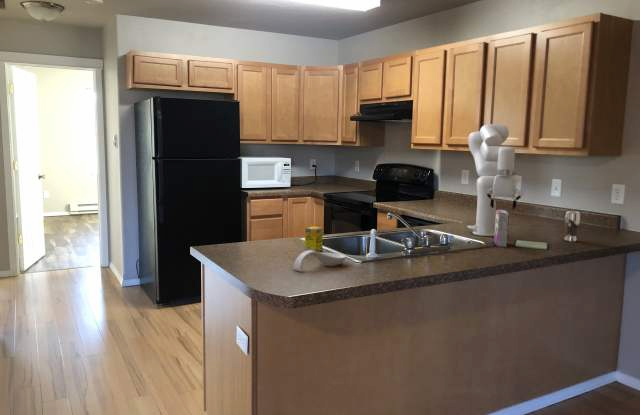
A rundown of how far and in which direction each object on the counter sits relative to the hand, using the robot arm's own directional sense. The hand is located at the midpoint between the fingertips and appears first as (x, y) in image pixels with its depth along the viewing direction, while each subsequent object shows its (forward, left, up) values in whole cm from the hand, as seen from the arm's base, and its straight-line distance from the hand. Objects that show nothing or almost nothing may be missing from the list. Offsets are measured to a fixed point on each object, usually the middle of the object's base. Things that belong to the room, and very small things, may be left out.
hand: (502, 208), depth 248 cm
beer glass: (+32, +28, -18) cm, 46 cm away
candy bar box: (0, 0, -18) cm, 18 cm away
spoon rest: (-61, -80, -18) cm, 102 cm away
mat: (+14, +6, -18) cm, 24 cm away
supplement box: (-74, -58, -18) cm, 96 cm away
